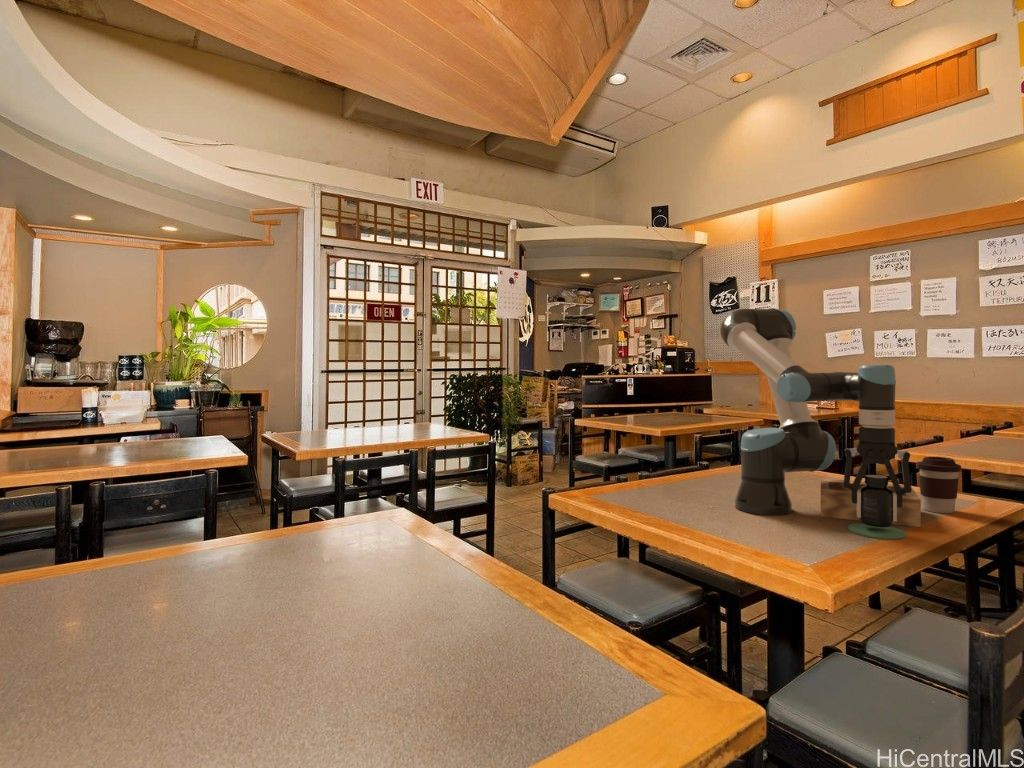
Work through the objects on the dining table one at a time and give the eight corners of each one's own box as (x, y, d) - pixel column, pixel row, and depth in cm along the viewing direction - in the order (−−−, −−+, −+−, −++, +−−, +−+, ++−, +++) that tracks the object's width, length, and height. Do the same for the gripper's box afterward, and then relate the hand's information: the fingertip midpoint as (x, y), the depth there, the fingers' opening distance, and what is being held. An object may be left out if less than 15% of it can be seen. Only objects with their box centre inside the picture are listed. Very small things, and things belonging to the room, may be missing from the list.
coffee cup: (944, 506, 160) (945, 455, 160) (969, 515, 151) (970, 461, 150) (908, 505, 161) (909, 455, 161) (931, 514, 151) (931, 461, 151)
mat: (849, 535, 134) (849, 533, 134) (847, 523, 145) (847, 520, 145) (909, 542, 128) (909, 540, 128) (902, 529, 139) (902, 526, 139)
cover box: (820, 516, 152) (820, 491, 151) (820, 501, 168) (820, 478, 168) (920, 526, 140) (920, 499, 140) (910, 509, 157) (910, 485, 157)
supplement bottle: (899, 528, 133) (899, 479, 133) (871, 528, 133) (871, 479, 133) (881, 520, 140) (881, 473, 140) (854, 520, 140) (854, 473, 140)
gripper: (831, 426, 138) (830, 516, 138) (928, 429, 128) (927, 527, 128) (830, 423, 144) (830, 510, 145) (923, 426, 134) (922, 519, 135)
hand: (876, 517), depth 137 cm, fingers closed on supplement bottle, 7 cm apart
